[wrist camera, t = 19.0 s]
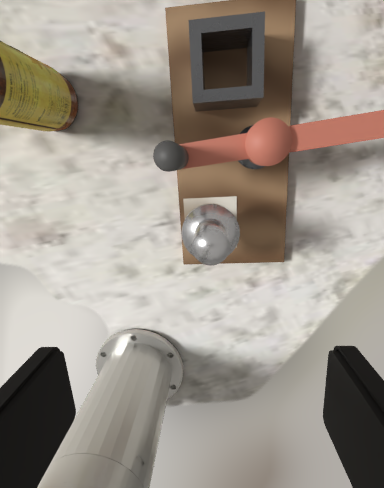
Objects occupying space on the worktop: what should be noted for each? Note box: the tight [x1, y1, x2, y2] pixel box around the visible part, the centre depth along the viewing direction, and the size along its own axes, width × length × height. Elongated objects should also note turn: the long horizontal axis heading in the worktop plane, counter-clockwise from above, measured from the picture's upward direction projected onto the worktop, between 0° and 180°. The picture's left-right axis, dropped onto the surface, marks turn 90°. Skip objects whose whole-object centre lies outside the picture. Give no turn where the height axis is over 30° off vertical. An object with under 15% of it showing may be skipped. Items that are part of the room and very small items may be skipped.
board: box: [165, 0, 296, 264], centre depth 29 cm, size 26×12×1 cm, turn 3°
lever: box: [153, 110, 384, 171], centre depth 20 cm, size 18×4×6 cm, turn 99°
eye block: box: [188, 11, 265, 112], centre depth 24 cm, size 6×6×4 cm
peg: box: [182, 204, 240, 265], centre depth 26 cm, size 6×6×10 cm
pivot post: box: [238, 125, 265, 169], centre depth 25 cm, size 4×4×5 cm
